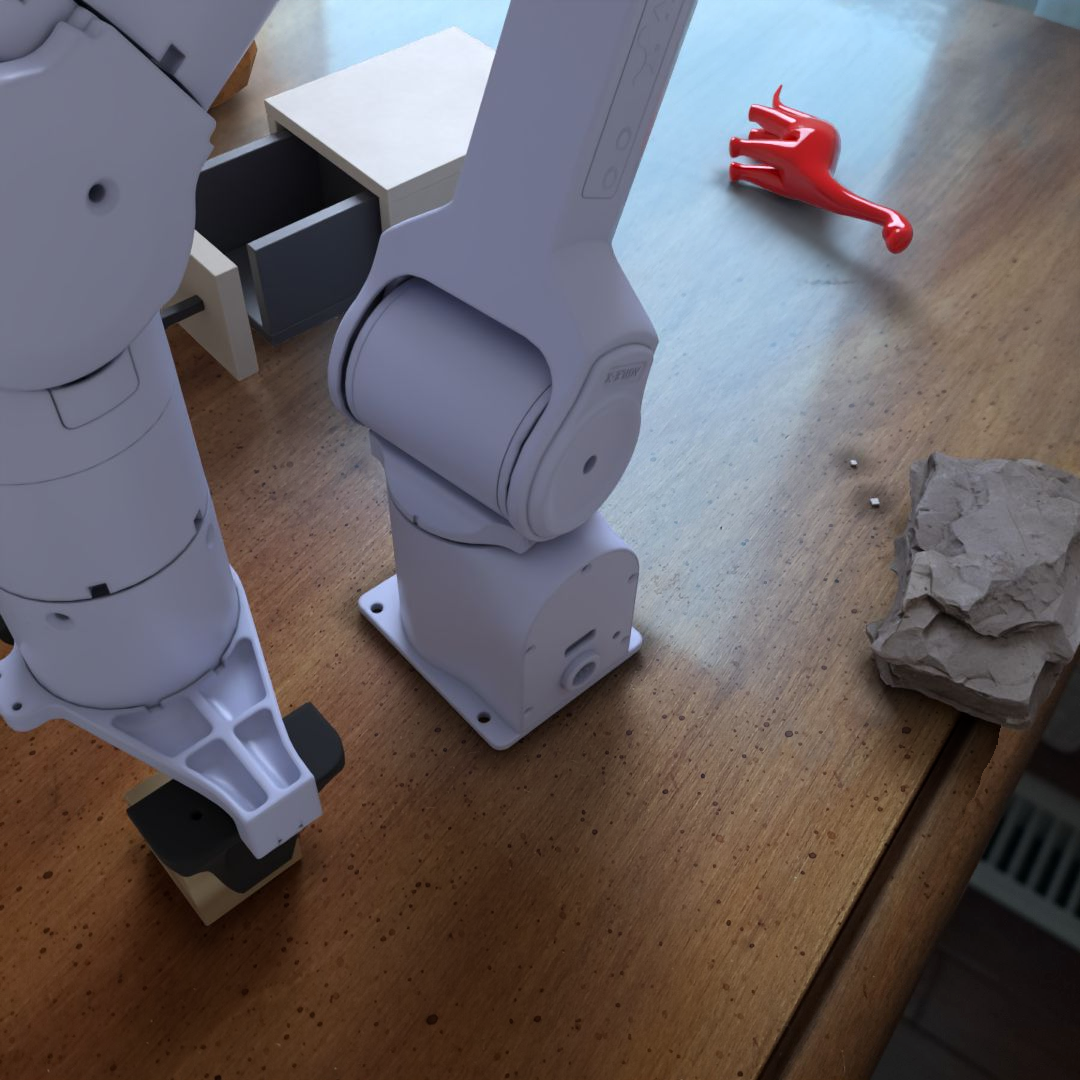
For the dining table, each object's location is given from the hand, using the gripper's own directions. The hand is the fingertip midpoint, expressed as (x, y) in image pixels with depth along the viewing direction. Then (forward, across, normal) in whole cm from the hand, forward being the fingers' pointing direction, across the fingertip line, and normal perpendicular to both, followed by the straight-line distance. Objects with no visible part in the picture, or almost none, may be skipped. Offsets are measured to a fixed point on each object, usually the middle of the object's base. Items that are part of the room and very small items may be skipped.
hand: (197, 785), depth 39 cm
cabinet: (+5, -25, +29) cm, 39 cm away
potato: (+5, -46, +26) cm, 53 cm away
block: (+5, 0, 0) cm, 5 cm away
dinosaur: (+3, -19, +47) cm, 51 cm away
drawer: (+4, -25, +17) cm, 31 cm away
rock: (+2, +6, +30) cm, 30 cm away
